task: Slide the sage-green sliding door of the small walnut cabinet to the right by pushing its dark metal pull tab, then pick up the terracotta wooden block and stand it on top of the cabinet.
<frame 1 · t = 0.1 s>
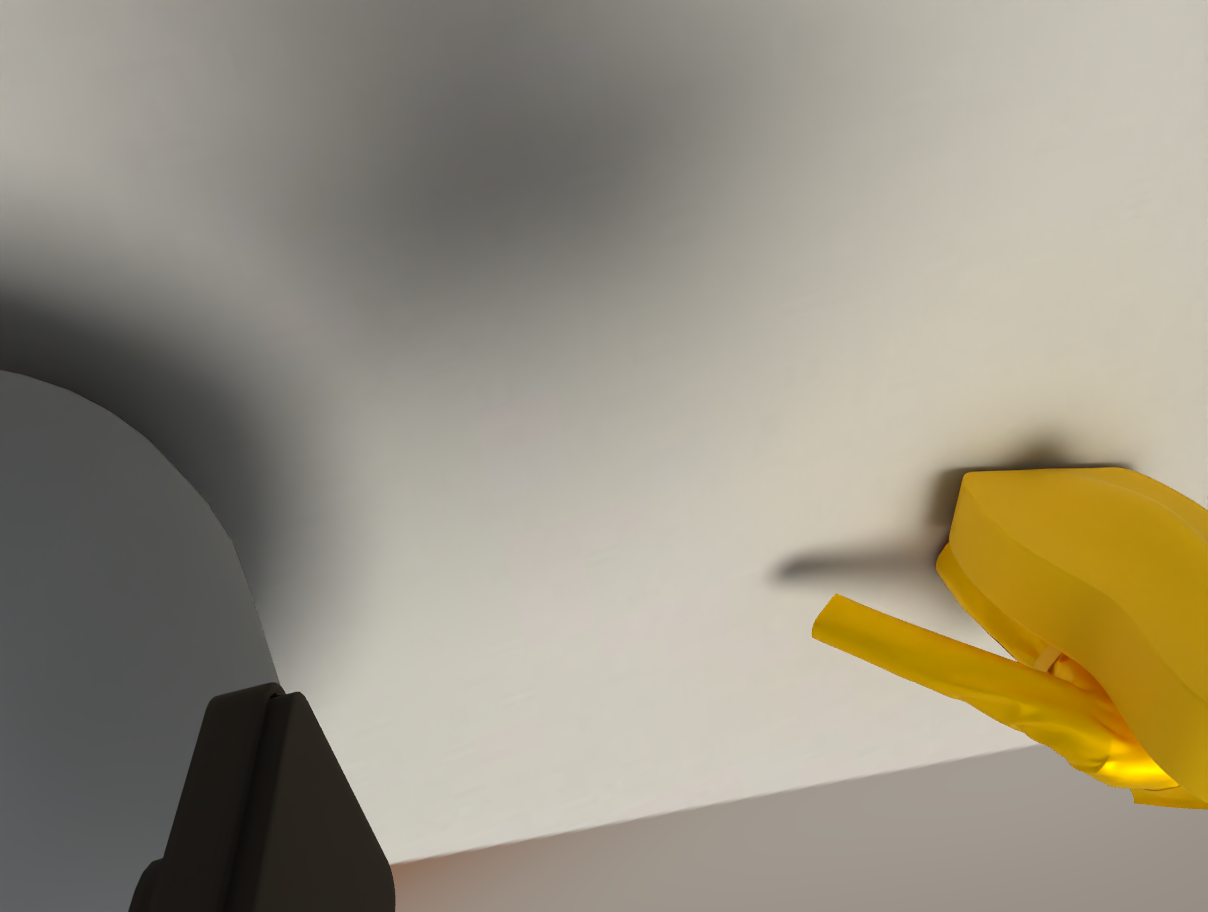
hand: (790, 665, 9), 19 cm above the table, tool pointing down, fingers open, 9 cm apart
vase: (29, 504, 28), on the table
figure statuette: (1021, 510, 34), on the table
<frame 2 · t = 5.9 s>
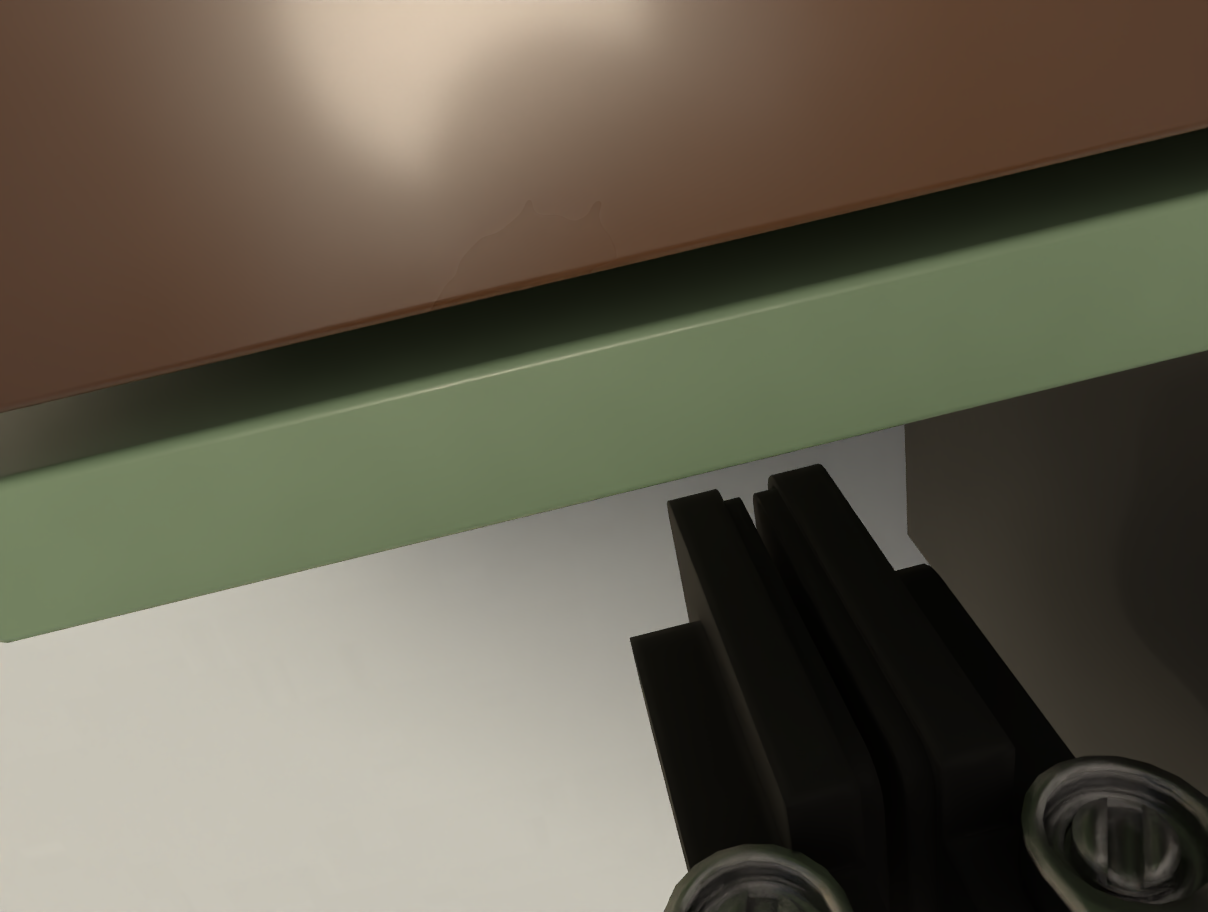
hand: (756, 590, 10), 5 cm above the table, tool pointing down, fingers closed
door: (744, 443, 9), point 5 cm above the table, slide at 0.7 cm, touching gripper
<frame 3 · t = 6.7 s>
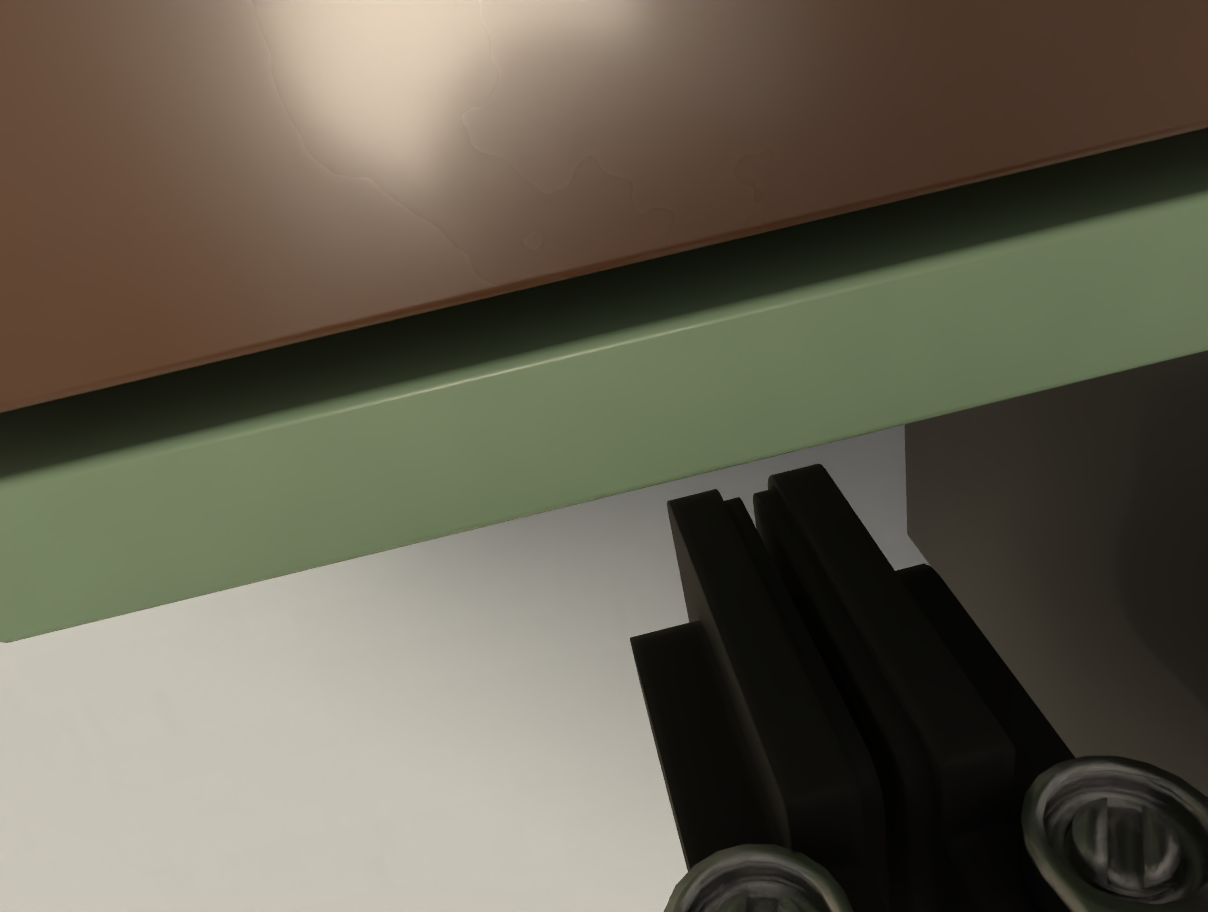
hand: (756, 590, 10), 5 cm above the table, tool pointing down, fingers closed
door: (744, 443, 9), point 5 cm above the table, slide at 3.9 cm, touching gripper
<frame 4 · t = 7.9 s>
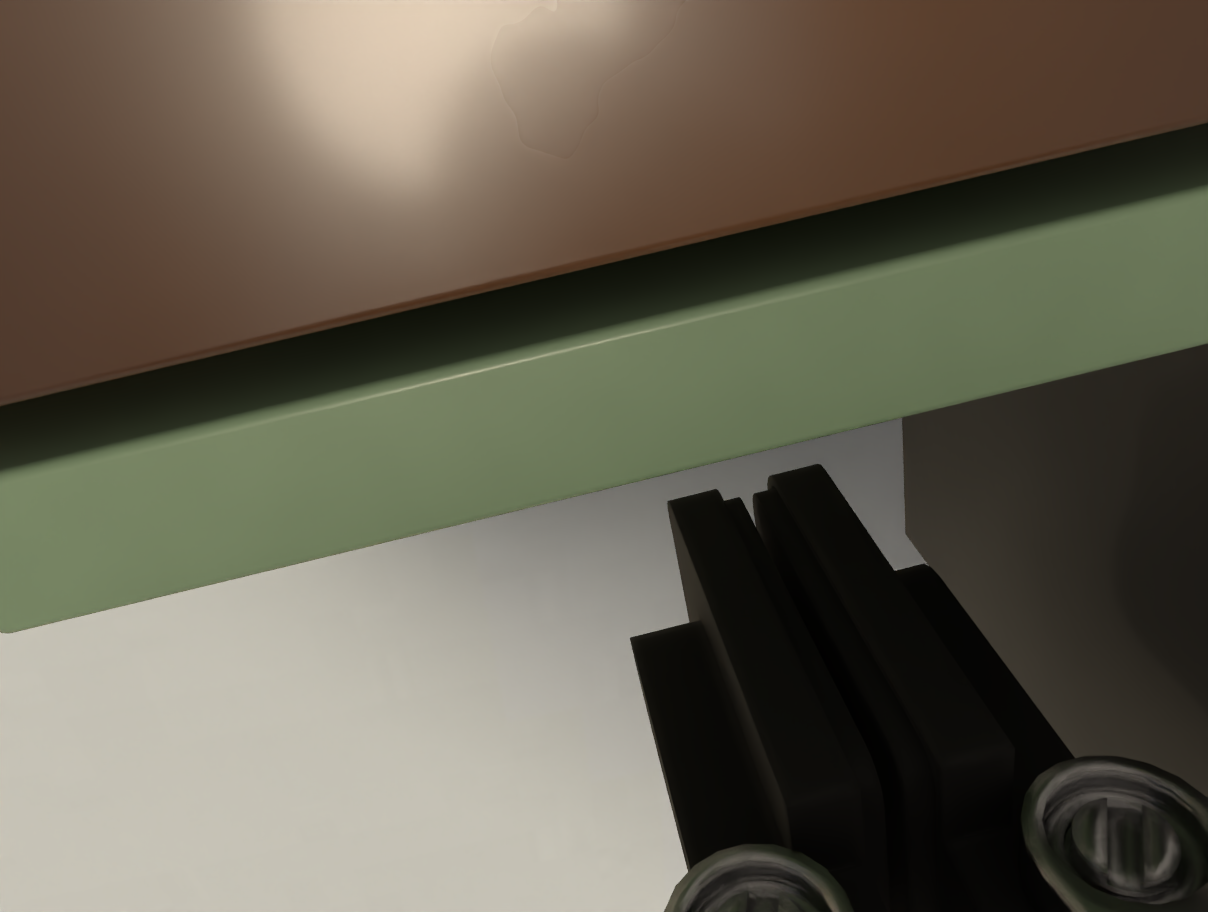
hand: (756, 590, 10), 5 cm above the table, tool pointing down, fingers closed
door: (741, 442, 9), point 5 cm above the table, slide at 8.1 cm, touching gripper
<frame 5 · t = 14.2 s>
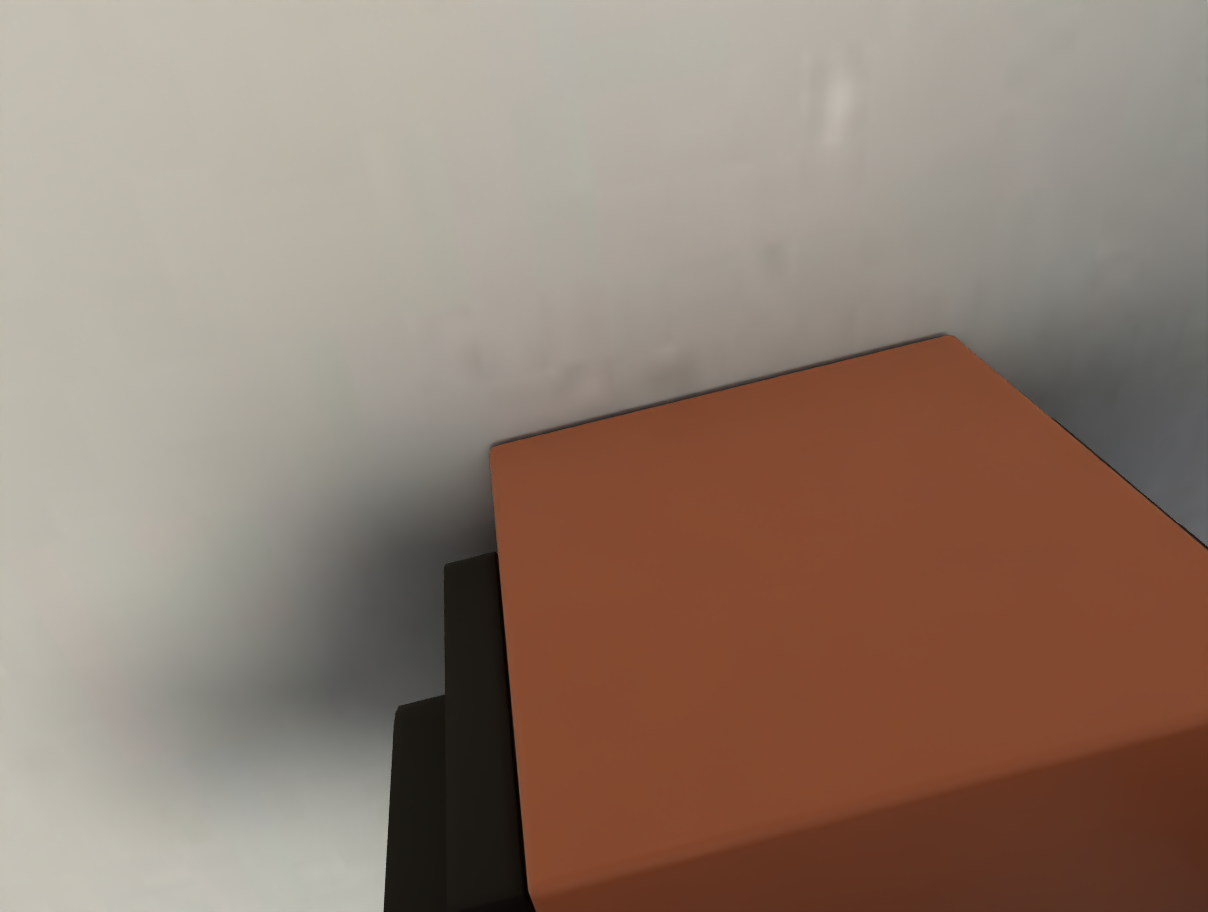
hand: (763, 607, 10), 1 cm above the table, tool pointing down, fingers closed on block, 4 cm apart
block: (748, 572, 11), on the table, touching gripper
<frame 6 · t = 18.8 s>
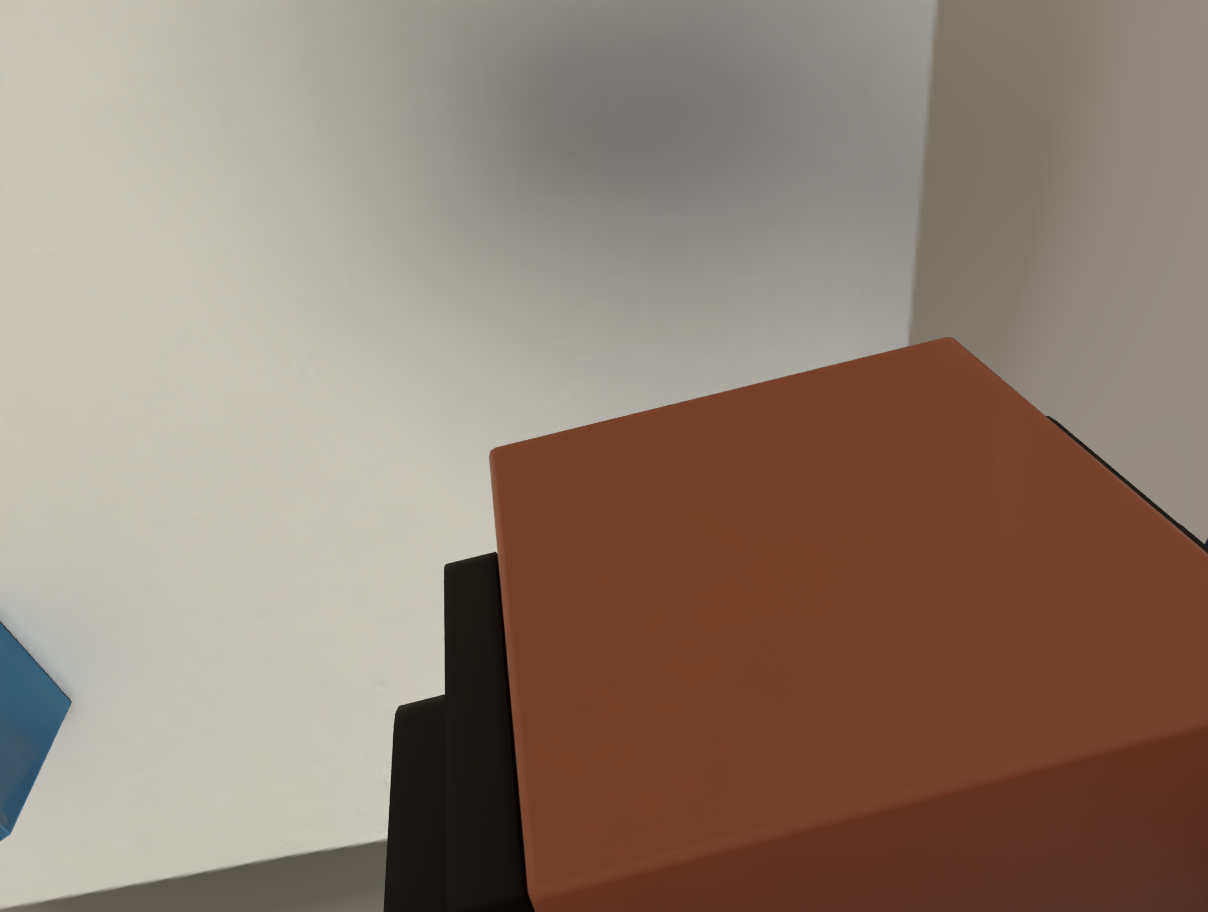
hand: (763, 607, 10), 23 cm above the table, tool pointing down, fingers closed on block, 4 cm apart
block: (748, 574, 11), point 22 cm above the table, touching gripper
when the fingers open (10 cm above the table, at t = 23.5 s): block stays where it is, resting on cabinet.
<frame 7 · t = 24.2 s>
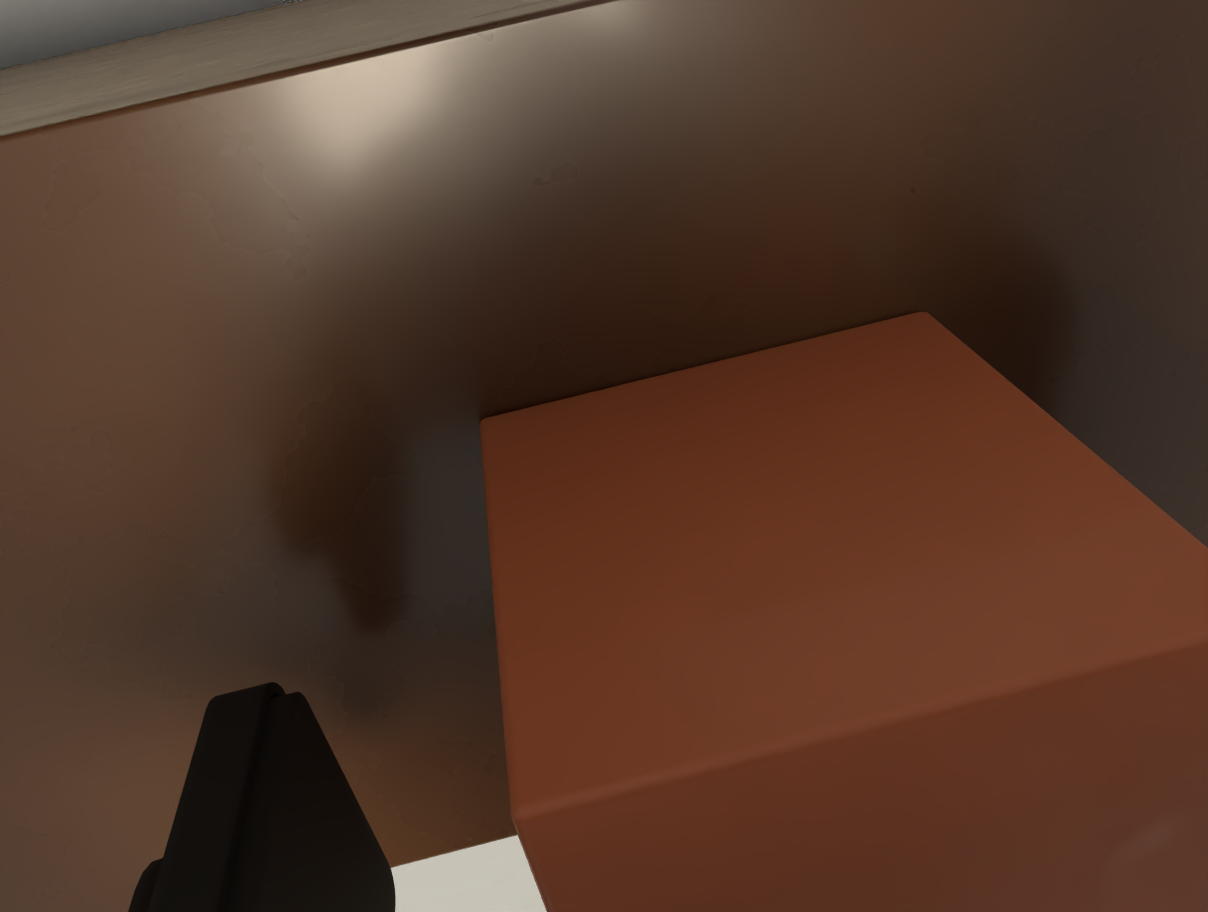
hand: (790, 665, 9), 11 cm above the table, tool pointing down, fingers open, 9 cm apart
block: (731, 543, 11), point 9 cm above the table, touching cabinet
cabinet: (501, 258, 18), on the table
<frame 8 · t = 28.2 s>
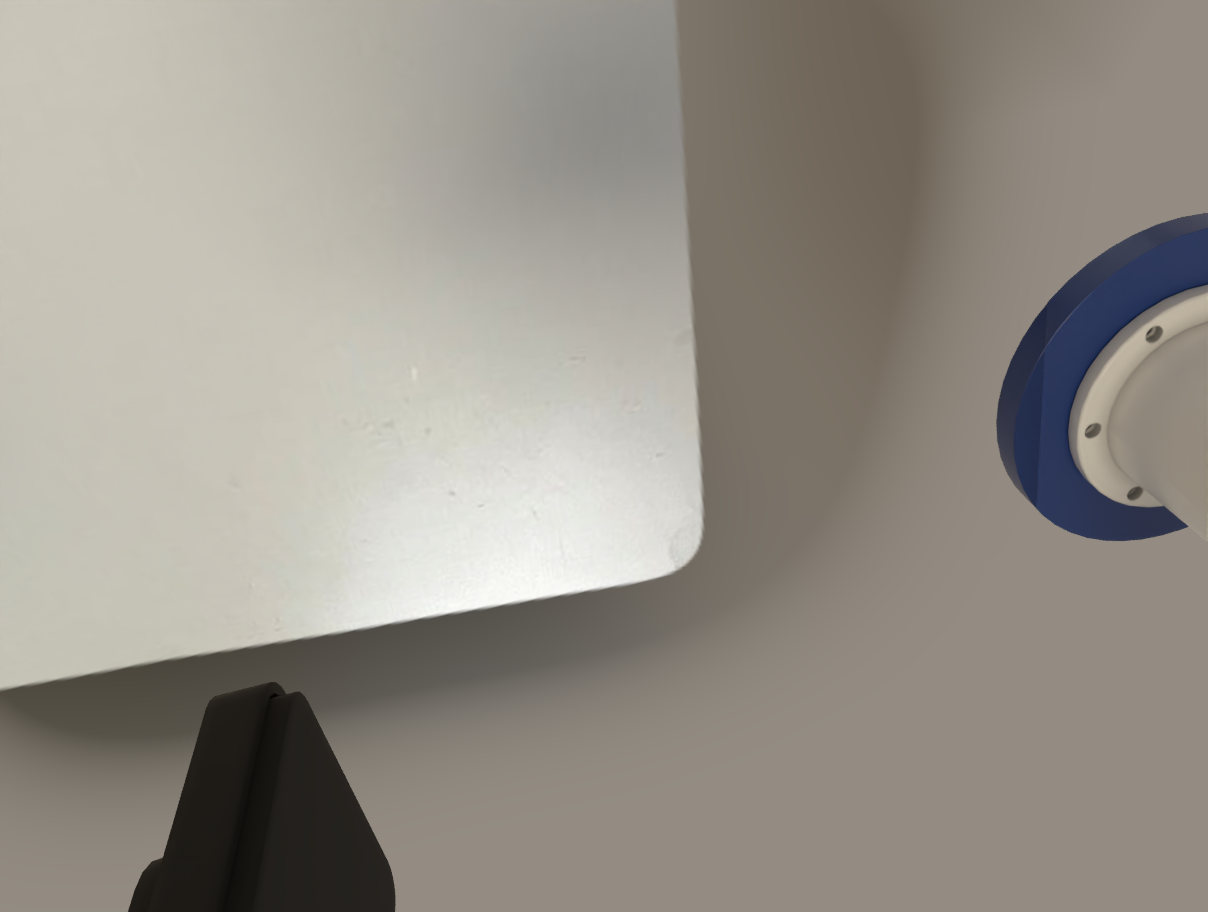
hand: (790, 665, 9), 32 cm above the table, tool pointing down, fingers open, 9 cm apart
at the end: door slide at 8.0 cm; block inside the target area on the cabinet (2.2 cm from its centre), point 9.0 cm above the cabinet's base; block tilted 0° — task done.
